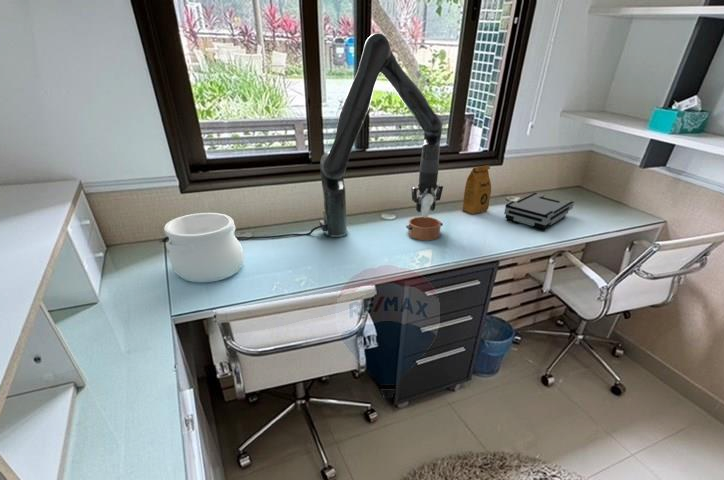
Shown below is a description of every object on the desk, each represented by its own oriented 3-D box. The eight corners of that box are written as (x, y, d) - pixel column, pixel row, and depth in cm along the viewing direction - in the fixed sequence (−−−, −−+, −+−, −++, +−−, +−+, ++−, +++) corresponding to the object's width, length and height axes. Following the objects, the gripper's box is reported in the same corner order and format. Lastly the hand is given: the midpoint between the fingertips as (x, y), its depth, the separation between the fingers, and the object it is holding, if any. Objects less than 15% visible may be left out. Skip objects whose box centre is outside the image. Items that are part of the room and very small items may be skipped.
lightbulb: (422, 221, 172) (424, 195, 166) (415, 216, 176) (417, 190, 170) (434, 219, 175) (437, 193, 168) (426, 214, 179) (429, 189, 172)
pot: (203, 294, 134) (188, 244, 124) (158, 274, 144) (141, 227, 134) (261, 265, 152) (253, 219, 142) (218, 249, 162) (207, 206, 152)
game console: (570, 215, 204) (575, 199, 199) (543, 233, 185) (547, 215, 180) (531, 206, 215) (535, 190, 210) (502, 221, 196) (505, 204, 191)
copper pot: (414, 242, 172) (414, 230, 169) (400, 230, 183) (401, 219, 179) (447, 237, 178) (448, 225, 174) (433, 226, 188) (434, 214, 185)
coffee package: (490, 212, 206) (498, 167, 193) (472, 216, 200) (479, 170, 187) (477, 206, 212) (484, 162, 199) (459, 210, 207) (465, 165, 194)
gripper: (440, 166, 169) (436, 206, 179) (409, 168, 164) (406, 209, 174) (449, 171, 163) (444, 212, 173) (417, 173, 159) (413, 215, 169)
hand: (425, 210), depth 174 cm, fingers closed on lightbulb, 5 cm apart
